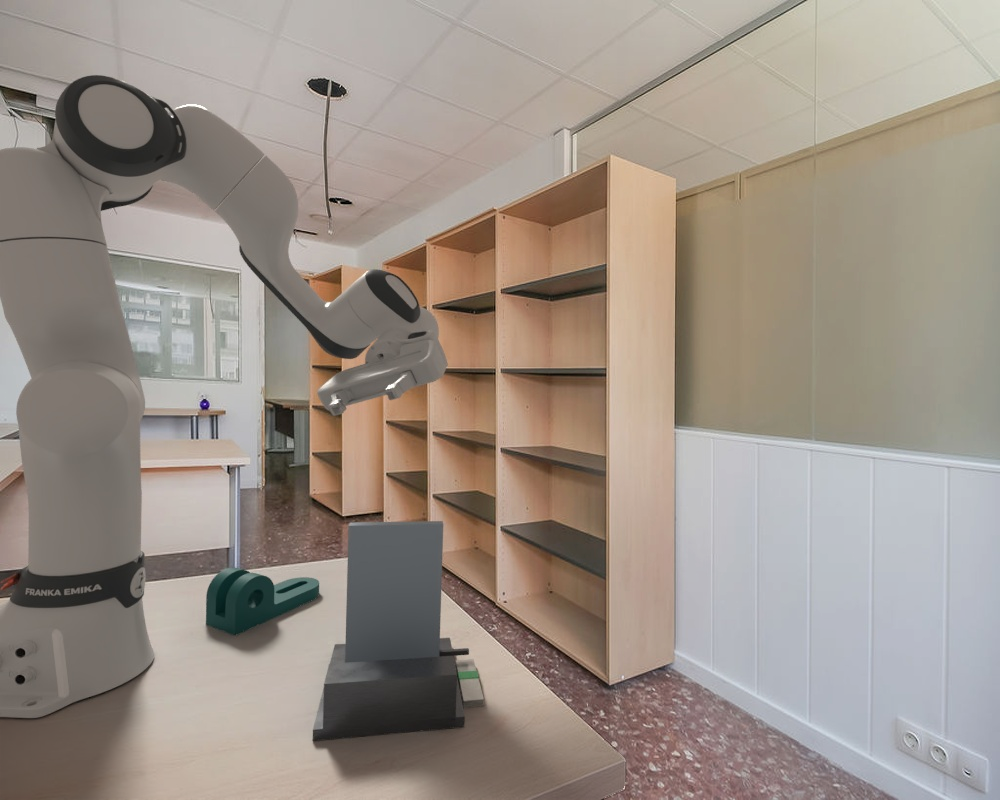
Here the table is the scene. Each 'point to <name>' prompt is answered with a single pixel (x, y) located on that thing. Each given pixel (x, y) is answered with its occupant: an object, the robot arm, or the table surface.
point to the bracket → (253, 599)
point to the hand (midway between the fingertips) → (362, 403)
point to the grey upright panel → (394, 591)
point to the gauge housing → (395, 695)
